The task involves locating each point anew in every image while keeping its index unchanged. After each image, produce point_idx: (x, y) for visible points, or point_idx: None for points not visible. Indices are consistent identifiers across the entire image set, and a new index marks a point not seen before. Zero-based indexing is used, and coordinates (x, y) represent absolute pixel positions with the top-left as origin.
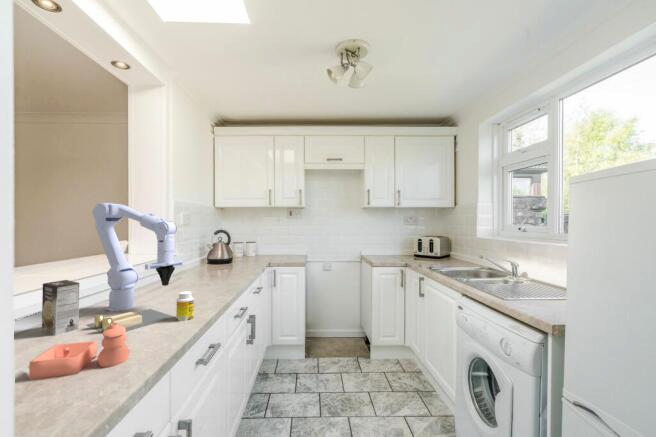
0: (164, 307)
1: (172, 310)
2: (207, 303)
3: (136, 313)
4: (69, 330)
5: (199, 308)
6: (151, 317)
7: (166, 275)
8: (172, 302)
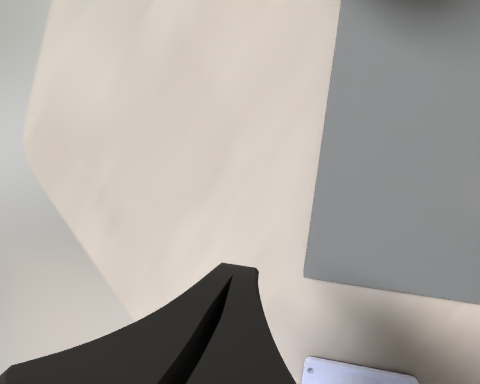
0: (225, 261)
1: (236, 172)
2: (46, 109)
3: (399, 272)
4: None
5: (126, 58)
6: (422, 118)
7: (227, 339)
8: (151, 298)
